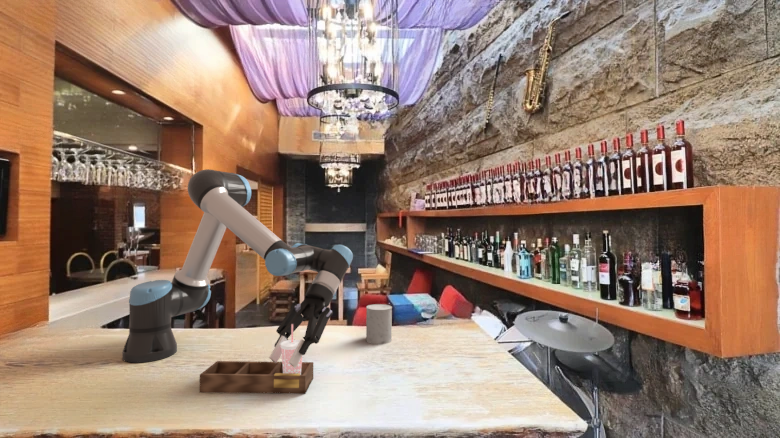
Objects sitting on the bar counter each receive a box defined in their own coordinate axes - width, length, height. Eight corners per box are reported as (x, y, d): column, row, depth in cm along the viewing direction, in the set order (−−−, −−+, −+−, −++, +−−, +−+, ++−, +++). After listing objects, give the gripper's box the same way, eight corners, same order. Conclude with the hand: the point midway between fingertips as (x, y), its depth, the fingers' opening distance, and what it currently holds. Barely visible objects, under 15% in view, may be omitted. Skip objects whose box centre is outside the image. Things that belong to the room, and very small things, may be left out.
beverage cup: (308, 375, 104) (308, 323, 104) (291, 383, 99) (291, 328, 99) (292, 370, 107) (292, 320, 107) (275, 377, 102) (275, 325, 102)
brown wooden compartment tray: (198, 392, 98) (199, 374, 98) (216, 377, 108) (217, 360, 108) (305, 394, 98) (305, 375, 98) (313, 378, 108) (313, 361, 108)
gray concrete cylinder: (388, 345, 137) (389, 310, 137) (363, 343, 139) (363, 309, 139) (394, 337, 146) (394, 304, 146) (369, 335, 148) (369, 303, 148)
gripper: (354, 300, 112) (317, 376, 98) (303, 294, 121) (263, 362, 107) (343, 285, 107) (303, 362, 93) (292, 279, 116) (248, 349, 102)
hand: (282, 362), depth 100 cm, fingers closed on beverage cup, 6 cm apart
